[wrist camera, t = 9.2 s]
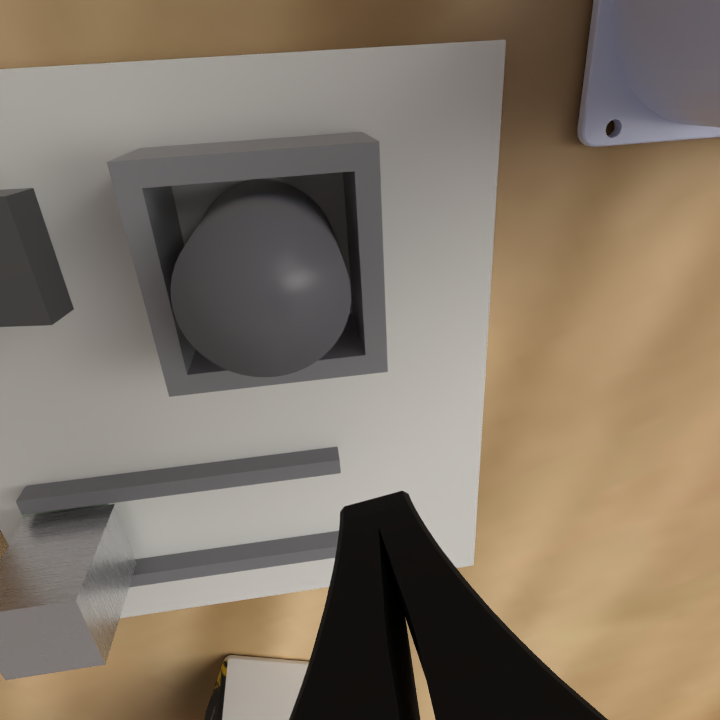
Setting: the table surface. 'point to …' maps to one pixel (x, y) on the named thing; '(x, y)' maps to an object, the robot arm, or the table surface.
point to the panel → (215, 384)
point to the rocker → (28, 264)
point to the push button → (262, 281)
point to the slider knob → (63, 590)
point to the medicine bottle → (256, 688)
